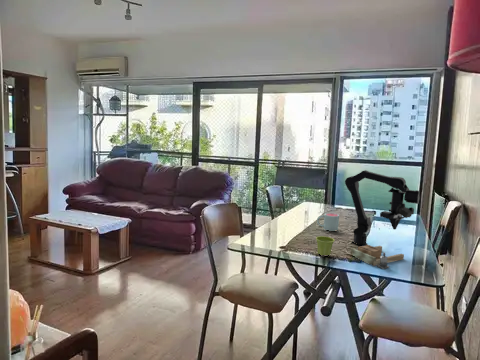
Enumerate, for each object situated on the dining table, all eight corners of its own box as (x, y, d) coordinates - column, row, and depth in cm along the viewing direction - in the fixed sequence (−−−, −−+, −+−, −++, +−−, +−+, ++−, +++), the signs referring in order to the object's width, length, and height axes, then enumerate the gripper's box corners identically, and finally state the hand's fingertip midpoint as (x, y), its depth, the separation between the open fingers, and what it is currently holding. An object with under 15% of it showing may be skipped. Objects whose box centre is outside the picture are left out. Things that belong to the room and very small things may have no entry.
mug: (336, 228, 241) (337, 213, 239) (339, 232, 232) (340, 216, 230) (315, 226, 242) (316, 212, 241) (317, 230, 233) (318, 215, 231)
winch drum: (376, 266, 176) (378, 252, 175) (382, 265, 178) (383, 250, 177) (383, 269, 172) (384, 254, 171) (389, 268, 174) (390, 253, 173)
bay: (350, 255, 189) (350, 248, 188) (379, 250, 200) (380, 243, 199) (373, 265, 176) (374, 258, 176) (403, 259, 187) (404, 251, 186)
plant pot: (330, 252, 194) (331, 236, 192) (335, 258, 184) (336, 242, 183) (312, 251, 193) (313, 235, 192) (317, 258, 184) (318, 241, 183)
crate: (357, 257, 187) (358, 246, 186) (368, 255, 190) (369, 244, 190) (369, 262, 180) (370, 251, 179) (380, 260, 184) (381, 249, 183)
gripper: (398, 205, 184) (395, 235, 186) (422, 202, 193) (418, 231, 195) (380, 201, 194) (377, 229, 196) (403, 198, 203) (400, 226, 205)
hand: (394, 229), depth 198 cm, fingers closed
